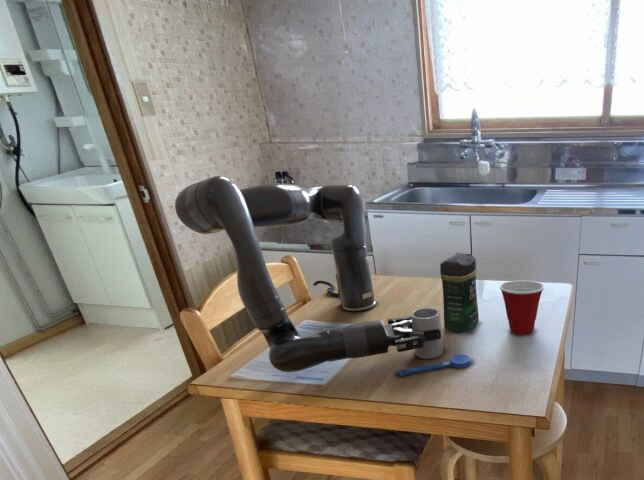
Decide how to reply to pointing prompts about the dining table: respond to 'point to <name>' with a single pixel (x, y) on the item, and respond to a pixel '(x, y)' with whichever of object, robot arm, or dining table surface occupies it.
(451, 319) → the coffee jar
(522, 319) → the plastic cup
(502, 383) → the dining table surface
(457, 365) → the spoon
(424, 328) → the gray cup
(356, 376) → the dining table surface
